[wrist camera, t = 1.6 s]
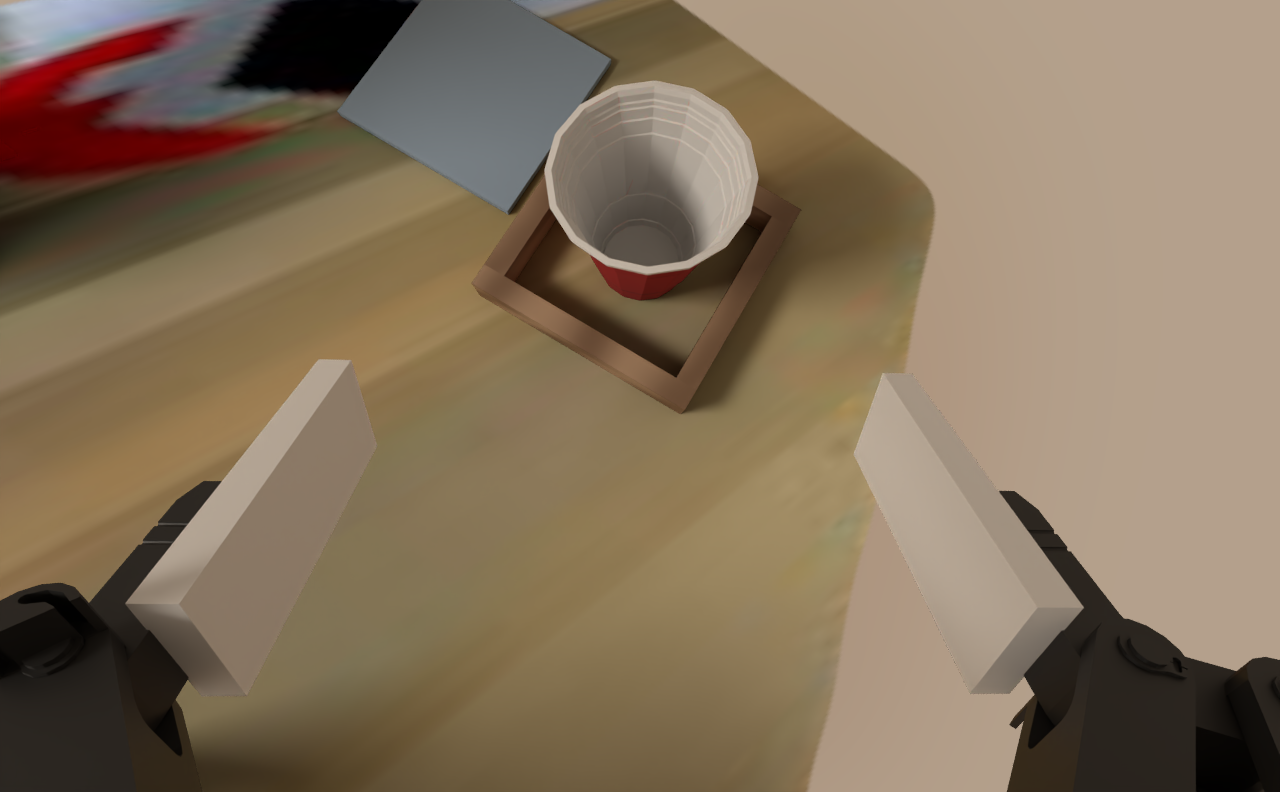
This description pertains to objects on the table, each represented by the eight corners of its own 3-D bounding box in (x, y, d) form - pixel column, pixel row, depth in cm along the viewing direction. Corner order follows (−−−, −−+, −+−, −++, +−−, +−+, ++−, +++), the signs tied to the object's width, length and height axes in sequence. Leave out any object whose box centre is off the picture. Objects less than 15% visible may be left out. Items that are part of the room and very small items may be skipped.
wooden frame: (480, 295, 39) (471, 283, 37) (600, 115, 42) (599, 92, 39) (680, 414, 39) (684, 409, 36) (789, 225, 41) (801, 209, 39)
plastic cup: (643, 159, 41) (657, 31, 29) (745, 265, 41) (802, 178, 29) (529, 253, 40) (496, 158, 28) (634, 366, 39) (646, 317, 27)
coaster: (340, 115, 40) (337, 111, 40) (450, -29, 43) (448, -35, 42) (508, 214, 40) (507, 211, 40) (610, 63, 42) (610, 59, 42)
